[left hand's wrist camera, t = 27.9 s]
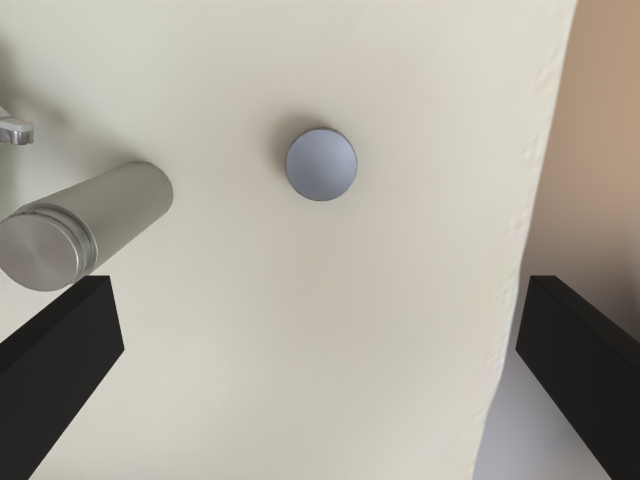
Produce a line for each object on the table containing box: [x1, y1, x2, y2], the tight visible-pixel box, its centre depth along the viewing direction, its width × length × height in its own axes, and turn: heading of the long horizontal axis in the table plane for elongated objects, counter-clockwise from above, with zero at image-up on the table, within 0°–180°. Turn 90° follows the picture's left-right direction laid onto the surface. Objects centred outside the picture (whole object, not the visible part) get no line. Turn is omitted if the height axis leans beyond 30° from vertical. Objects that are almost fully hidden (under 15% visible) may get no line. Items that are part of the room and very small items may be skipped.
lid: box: [285, 128, 357, 201], centre depth 37 cm, size 6×6×2 cm
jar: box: [0, 162, 173, 291], centre depth 31 cm, size 6×6×16 cm
